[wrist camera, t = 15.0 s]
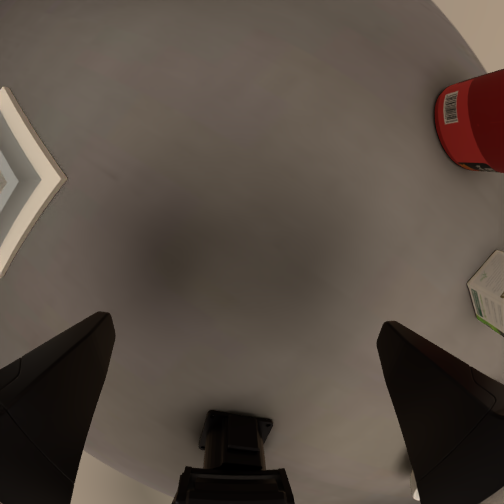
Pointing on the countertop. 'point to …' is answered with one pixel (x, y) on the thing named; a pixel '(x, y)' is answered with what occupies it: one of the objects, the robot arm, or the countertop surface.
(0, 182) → the plug
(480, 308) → the syrup box
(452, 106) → the canned food
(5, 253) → the socket
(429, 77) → the countertop surface
